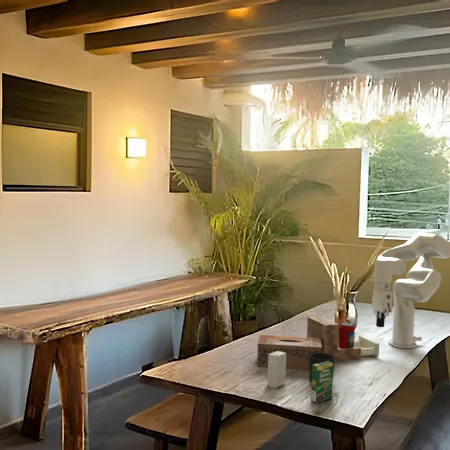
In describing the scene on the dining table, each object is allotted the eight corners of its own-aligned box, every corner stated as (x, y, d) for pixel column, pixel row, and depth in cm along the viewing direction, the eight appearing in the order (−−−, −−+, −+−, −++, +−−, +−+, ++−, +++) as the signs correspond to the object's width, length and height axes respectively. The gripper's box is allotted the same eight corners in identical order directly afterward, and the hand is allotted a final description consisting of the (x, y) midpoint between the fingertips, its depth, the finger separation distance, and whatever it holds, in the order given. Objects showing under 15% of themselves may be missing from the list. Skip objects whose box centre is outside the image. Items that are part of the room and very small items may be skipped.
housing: (341, 349, 266) (343, 315, 265) (360, 359, 251) (362, 323, 250) (306, 352, 260) (307, 316, 259) (323, 362, 245) (324, 325, 244)
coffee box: (315, 404, 197) (317, 366, 196) (309, 401, 200) (311, 363, 199) (332, 399, 202) (334, 362, 201) (326, 397, 204) (328, 360, 203)
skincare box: (276, 381, 219) (277, 350, 218) (285, 384, 216) (287, 352, 215) (266, 385, 214) (267, 353, 213) (276, 388, 211) (277, 356, 210)
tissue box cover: (257, 367, 236) (257, 343, 236) (259, 357, 250) (259, 334, 250) (321, 371, 233) (322, 347, 233) (319, 361, 247) (320, 338, 247)
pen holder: (338, 384, 218) (339, 358, 218) (320, 388, 213) (321, 361, 213) (321, 376, 226) (322, 351, 226) (303, 380, 221) (304, 354, 221)
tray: (362, 347, 269) (362, 335, 268) (380, 356, 255) (381, 343, 254) (326, 350, 262) (326, 337, 262) (343, 359, 248) (343, 346, 248)
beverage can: (353, 353, 254) (355, 326, 253) (338, 352, 255) (339, 325, 254) (353, 349, 260) (354, 322, 259) (338, 347, 262) (339, 321, 261)
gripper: (399, 289, 255) (397, 330, 256) (380, 283, 269) (377, 322, 270) (385, 289, 253) (382, 330, 254) (366, 283, 267) (363, 323, 268)
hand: (380, 326), depth 262 cm, fingers closed
